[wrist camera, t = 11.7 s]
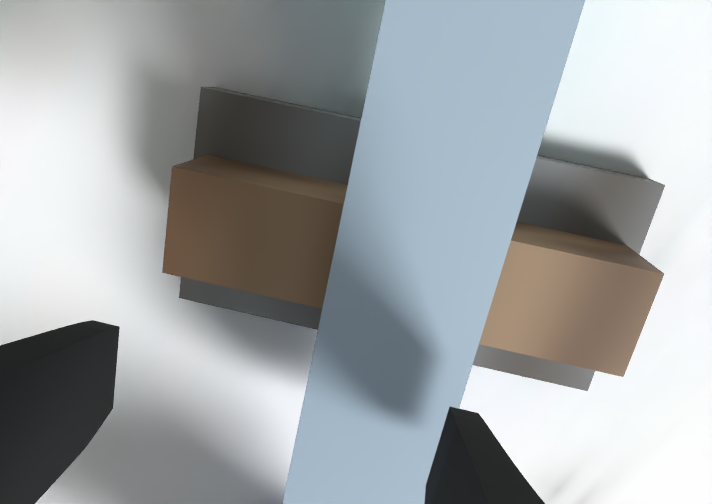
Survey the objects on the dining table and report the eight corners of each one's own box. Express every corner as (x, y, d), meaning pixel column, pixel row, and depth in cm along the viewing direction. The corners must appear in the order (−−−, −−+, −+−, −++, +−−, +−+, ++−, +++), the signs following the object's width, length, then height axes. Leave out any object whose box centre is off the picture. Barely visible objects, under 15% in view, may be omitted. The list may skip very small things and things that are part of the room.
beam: (391, 513, 20) (384, 650, 15) (296, 489, 20) (258, 618, 15) (548, -37, 14) (615, -99, 9) (414, -65, 14) (414, -140, 9)
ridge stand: (650, 179, 19) (711, 203, 15) (578, 374, 22) (614, 440, 18) (213, 87, 20) (162, 87, 16) (191, 286, 22) (142, 330, 18)
